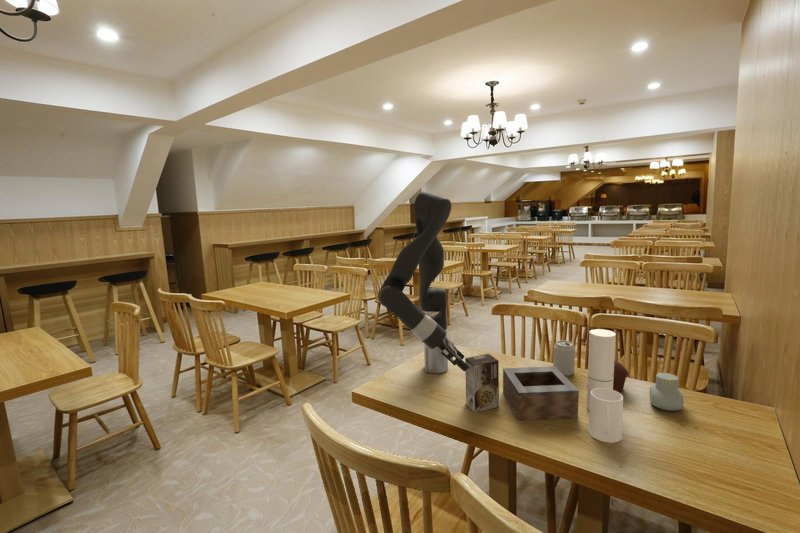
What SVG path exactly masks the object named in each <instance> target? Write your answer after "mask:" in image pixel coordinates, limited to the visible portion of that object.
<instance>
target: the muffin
mask: <svg viewBox="0 0 800 533" xmlns="http://www.w3.org/2000/svg"><path fill="white" fill-rule="evenodd" d="M629 373H630V372H629V371H628V369H627V368H626V367H625V366H624V365H623V364H622V363H621V362H619V361H618V360H615V359H614V378H613V390H615V391H617V392H619V393H620V394H623V391H624V387H625V383H626V379H627V377H629V376H630V374H629Z"/></svg>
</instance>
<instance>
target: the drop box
mask: <svg viewBox="0 0 800 533" xmlns="http://www.w3.org/2000/svg"><path fill="white" fill-rule="evenodd" d="M502 393H503V396H504V397H505V399H506V400H507V403H508V405H509V406H510V408H511V409H512V411H513V413H514V415H515V417H516V419H517V420H518V422H519V421H522V422H523V421H539V420H540V421H541V420H542V421H545V420H565V419H566V420H567V419H569V420H570V419H571V420H572V419H579V397H580V396H579V395H580V392H579V389H578V388H577V387H576V386H575V385H574V384H573V383H572V382H571V381H570V380H569V379H568V378H567V376H564V375H563V374H562V373H561V372H560V371H559V370H558V369H557V368H556V367H555V366H553V365H551V366H550V365H548V366H531V367H530V366H527V367H504V368H502Z"/></svg>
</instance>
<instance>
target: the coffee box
mask: <svg viewBox="0 0 800 533" xmlns="http://www.w3.org/2000/svg"><path fill="white" fill-rule="evenodd" d="M464 358H465V359H464V362H465V363H466V364H467V365H468V366H469V368H468V369H467V370H466V371H464V372H465V373H464V374H465V404H466V405H467V406H468V407H469V408H470V409H471V410H472V411H473V412H474V413H478V412H482V411H485V410H487V411H488V410H491V409H495V408H499V407H500V386H499V385H500V382H499V378H500V377H499V371H500V370H499V368H500V367H499V359H496V358H495V357H494V356H493V355H491V354H490V353H486V354H480V355H474V356H470V357H464Z"/></svg>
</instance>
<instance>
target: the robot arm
mask: <svg viewBox="0 0 800 533" xmlns="http://www.w3.org/2000/svg"><path fill="white" fill-rule="evenodd" d="M451 211H452V201H451V200H450V198H448V197H445V196H442V195H440V194H439V195H438V194H436V193H433V192H428V191H420V192H419V193H418V194H417V196H415V199H414V204H413V218H414V223H415V230H416V235H417V236H416V238H415V239H413V240H412V241H410V242H409V243H407V244H406V245H405V246H404V247H403V248H402V249H401V250H400V252H399V254H398V255H397V257H396V259H395V261H394V263H393V265H392V266H391V267H392V268H391V270H390V272H389V274H388V275H387V277H386V279H385V280H384V282H383V283H382V285H381V287H380V289H379V291H378V293H377V299H378V302H379V304H380V305H381V306H383V307H385V308H386V309H387V310H388V311H390V313H392V314H393V315H394V316H396V318H398V319H399V321H400V322H402V324H403V325H404V326H405V327H406V328H407V329H409V330H410V331H411V332H412V334H413V335H415V337H416V338H418V339H419V340H420V341H421V342H422V343H423V353H424V354H423V356H424V359H423V360H424V371H425V373H430V374H443V373H446V372H448V371H449V362H450V363H451V364H452V366H457V367H459V368H460V369H461V370H462V372H465V371H466V370H467V369H468V368H469V366H468V365H467V364H466V363H465V360H464V358H465V355H464V354H463V353H462V352H461V351H460V350H458V348H457V346H455V343H453V342H452V341H451V340H450V339H449V338H448V317H447V316H448V292H447V290H446V289H445V288H444V287H433V288H432V287H430V286H431V284H432V283H433V282H434V281H435V280H436V279H437V277H438V276H439V275H440V274H441V273H442V271H443V269H444V266H445V251H444V246H443V245H442V243H441V241H440V239H439V237H438V234H439V233H440V231H441V230H442V228H444V226H445V224H446V223H447V221H448V219H449V217H450V214H451V213H452V212H451ZM417 268H418V272H419V294H418V295H419V296H418V303H419V306H418V305H416V304H415V303H413V302H412V300H411V299H410V298H409V297H408V296H407V295H406V293H404V292H403V291H404V289H405V287H406V286H407V284H408V283H409V282H411V280H412V279H413V277H414V275H415V272H416V270H417ZM419 307H420V308H419ZM429 312H431V313H433V312H437V313H436V314H435V315H434V316H432V317H431V316H429V315H428V314H426V313H429ZM453 358H455V359H453Z"/></svg>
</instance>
